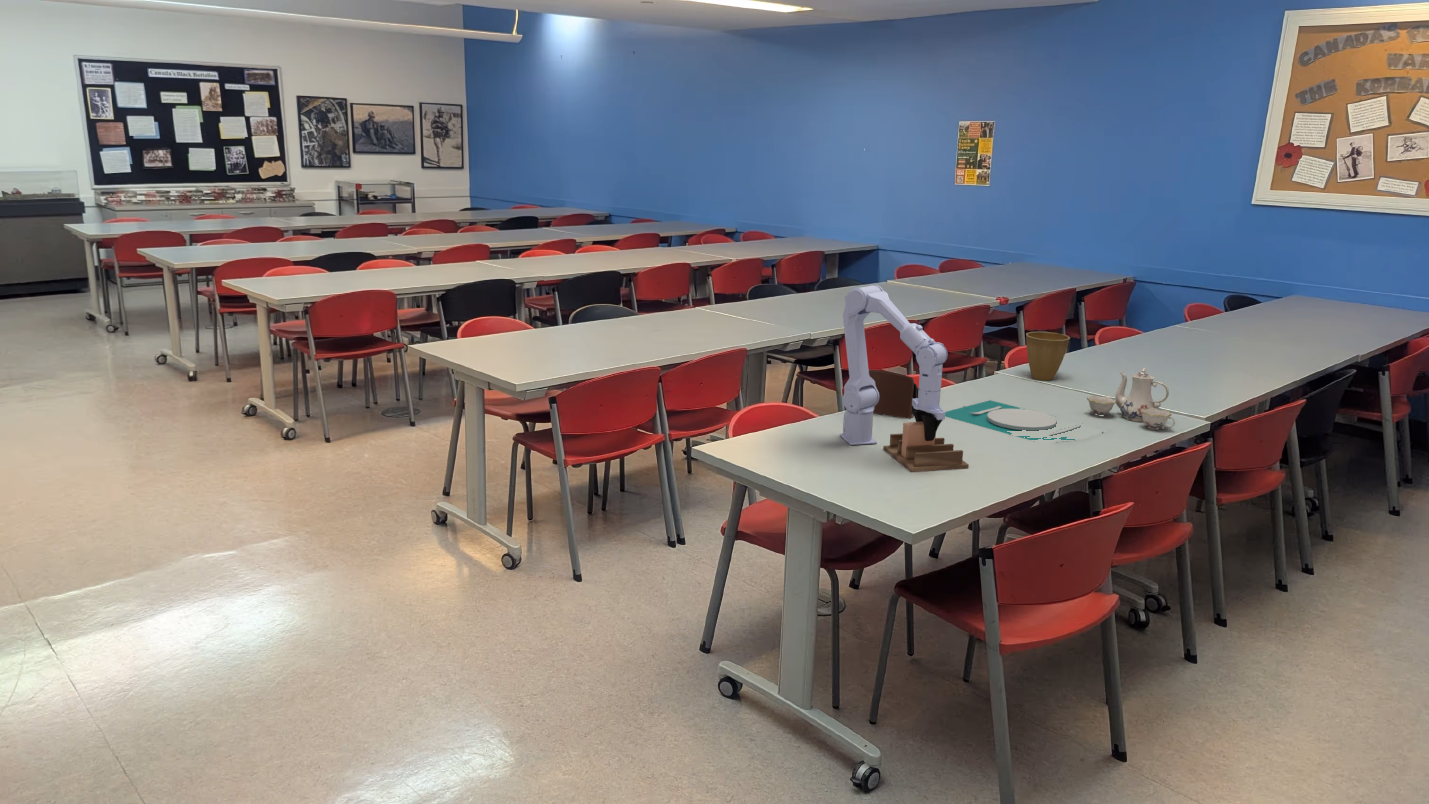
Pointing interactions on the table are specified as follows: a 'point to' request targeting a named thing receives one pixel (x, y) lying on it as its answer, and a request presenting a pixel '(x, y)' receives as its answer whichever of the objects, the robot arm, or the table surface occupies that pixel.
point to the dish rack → (926, 455)
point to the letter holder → (894, 394)
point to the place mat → (1007, 419)
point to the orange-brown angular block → (914, 436)
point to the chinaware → (1135, 402)
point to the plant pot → (1045, 353)
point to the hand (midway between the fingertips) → (926, 438)
